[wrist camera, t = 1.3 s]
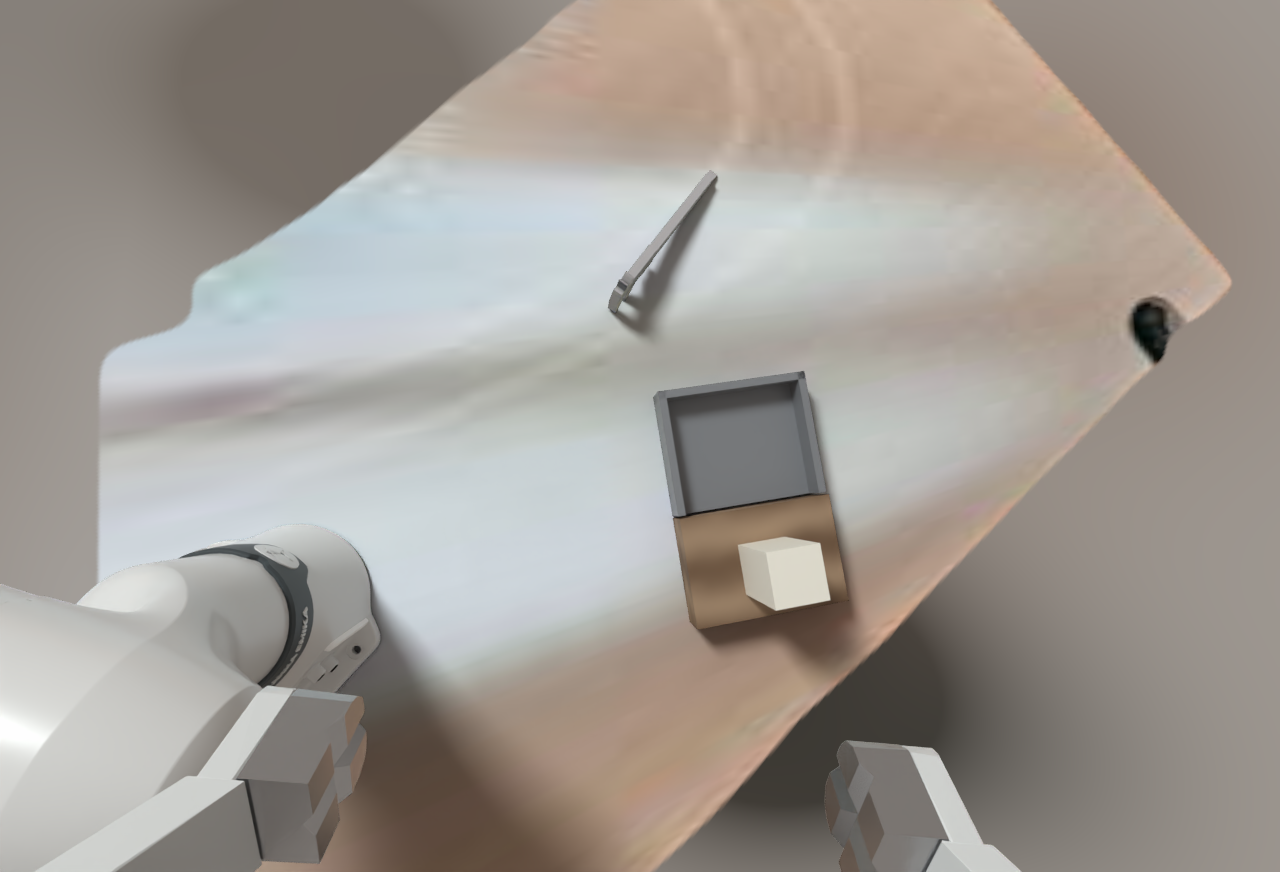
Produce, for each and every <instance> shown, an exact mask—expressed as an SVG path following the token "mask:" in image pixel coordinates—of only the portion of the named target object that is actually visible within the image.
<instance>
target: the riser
mask: <svg viewBox="0 0 1280 872" xmlns="http://www.w3.org/2000/svg"><path fill="white" fill-rule="evenodd" d="M673 521H674V527H675V533H676V539H677V546H678V552H679V558H680V564H681V570H682V576H683V582H684V589H685V595H686V601H687V607H688V613H689V619H690V622H691V623H692V624H693V625H694V626H695V627H696V628H697V629H698V630H699V629H704V628H709V627H714V626H719V625H724V624H730V623H735V622H740V621H745V620H750V619H756V618H761V617H766V616H771V615H776V614H781V613H787V612H792V611H797V610H802V609H807V608H813V607H818V606H823V605H828V604H833V603H838V602H844V601H849V600H848V595H847V589H846V584H845V578H844V573H843V568H842V562H841V557H840V551H839V546H838V541H837V535H836V530H835V524H834V519H833V513H832V508H831V503H830V497H829V494H820V495H808V496H802V497H796V498H791V499H785V500H779V501H773V502H767V503H761V504H755V505H749V506H743V507H737V508H731V509H725V510H719V511H713V512H707V513H701V514H695V515H689V516H683V517H677V518H673ZM780 537H789V538H794V539H800V540H806V541H811V542H817V543H820V545H821V551H822V556H823V562H824V567H825V573H826V578H827V584H828V589H829V595H830V600H829V601H824V602H819V603H813V604H808V605H803V606H798V607H793V608H787V609H782V610H777V611H776V610H774V609H772V608H770V607H768V606H766V605H765V604H763V603H761V602H759V601H757V600H755V599H754V598H752V597H750V596H748V595H746V590H745V585H744V579H743V573H742V567H741V561H740V555H739V550H738V545H740V544H746V543H752V542H757V541H763V540H769V539H774V538H780Z"/></svg>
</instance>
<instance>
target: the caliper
mask: <svg viewBox="0 0 1280 872" xmlns="http://www.w3.org/2000/svg"><path fill="white" fill-rule="evenodd" d="M716 176H717V175H716V174H715V173H714V172H712V171H711V170H710V171H709V172H708V173H707V174H706V175H705V176H704V177H703V178H702V180H701V181H700V182H699V183H698V185H697V186H696V187H695V188H694V190H693V191H692V192H691V193H690V195H689V196H688V197H687V199H686V200H685V201H684V202H683V204H682V205H681V206H680V207H679V209H678V210H677V211H676V212H675V214H674V215H673V216H672V217H671V219H670V220H669V221H668V223H667V224H666V225H665V226H664V228H663V229H662V230H661V231H660V233H659V234H658V235H657V236H656V238H655V239H654V240H653V242H652V243H651V244H650V245H649V246H648V247H647V248H646V249H645V251H644V252H643V253H642V254H641V256H640V257H639V258H638V259H637V261H636V262H635V263H634V264H633V266H632V267H631V268H630V269H629V271H628V272H627V271H626V272H625V274H624V276H623V277H622V279H620V280H619V282H618V284H617V286H616V287H615V289H614V290H613V293H612V295H611V297H610V300H609V305H608V308H609V309H610V310H612V311H613V312H614V313H616V312H617V311H618V308H619V306H620V304H621V301H622V300H623V301H625V300H626V298H627V297H628V295H629V293H630V291H631V289H632V288H633V286H634V284H635V282H636V281H637V279H638V278H639V277H640V276H641V275H642V274H643V273H644V271H645V270H646V268H647V267H648V266H649V265H650V264H651V262H652V260H653V258H654V257H655V256H656V254H657V253H658V252H659V250H660V249H661V248H662V247H663V245H664V244H665V243H666V241H667V240H668V239H669V238H670V236H671V235H672V234H673V232H674V231H675V230H676V229H677V227H678V226H679V225H680V223H681V222H682V221H683V220H684V218H685V217H686V216H687V214H688V213H689V212H690V211H691V209H692V208H693V207H694V206H695V204H696V203H697V202H698V200H699V199H700V198H701V197H702V195H703V194H704V193H705V191H706V190H707V189H708V187H709V186H710V184H711V183H712V181H713V180H714V179H715V178H716Z"/></svg>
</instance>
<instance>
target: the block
mask: <svg viewBox="0 0 1280 872" xmlns="http://www.w3.org/2000/svg"><path fill="white" fill-rule="evenodd" d="M738 550H739V555H740V561H741V567H742V573H743V579H744V585H745V590H746V595H748V596H750V597H752V598H754V599H755V600H757V601H759V602H761V603H763V604H765V605H766V606H768V607H770V608H772V609H774V610H776V611H777V610H782V609H787V608H793V607H798V606H803V605H808V604H813V603H819V602H824V601H829V600H830V595H829V589H828V584H827V578H826V573H825V567H824V562H823V556H822V551H821V545H820V543H817V542H811V541H806V540H800V539H794V538H789V537H780V538H774V539H769V540H763V541H757V542H752V543H746V544H740V545H738Z"/></svg>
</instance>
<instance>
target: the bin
mask: <svg viewBox="0 0 1280 872" xmlns="http://www.w3.org/2000/svg"><path fill="white" fill-rule="evenodd" d="M653 399H654V405H655V411H656V417H657V423H658V429H659V435H660V442H661V448H662V454H663V460H664V466H665V472H666V479H667V485H668V491H669V497H670V503H671V509H672V515H673V516H678V517H679V516H685V515H686V514H688V513H694V512H700V511H706V510H712V509H718V508H724V507H730V506H736V505H742V504H748V503H754V502H760V501H766V500H772V499H778V498H783V497H789V496H795V495H801V494H807V493H822V492H826V487H825V481H824V476H823V471H822V465H821V460H820V454H819V449H818V443H817V438H816V433H815V427H814V422H813V416H812V411H811V405H810V400H809V395H808V389H807V384H806V378H805V373H804V371H801V372H794V373H787V374H780V375H773V376H766V377H759V378H751V379H744V380H737V381H730V382H723V383H716V384H709V385H701V386H694V387H687V388H680V389H673V390H666V391H659V392H657V393H656V394H655V396H654V397H653Z"/></svg>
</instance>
